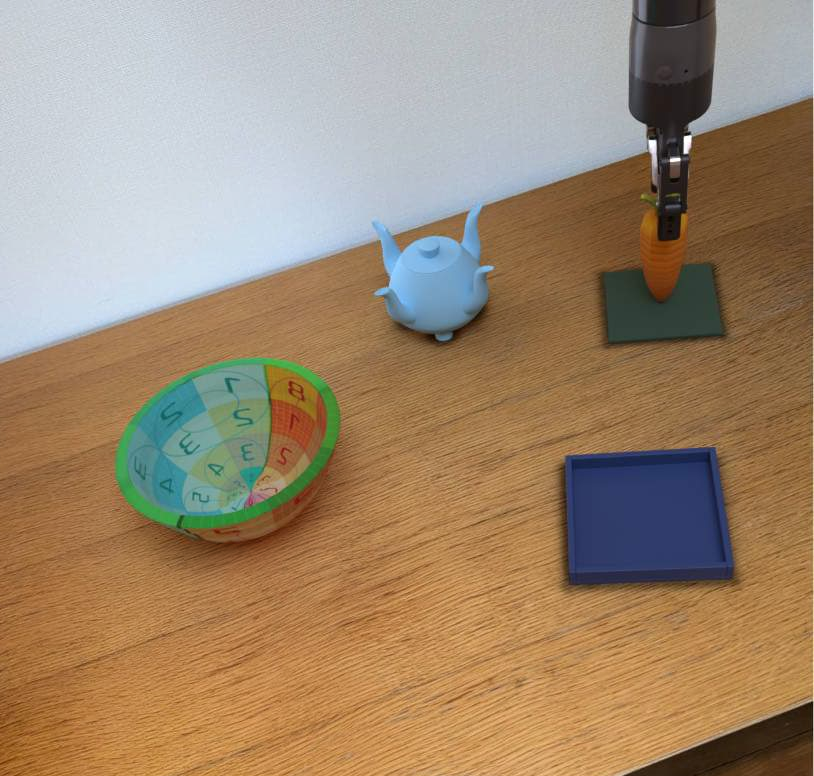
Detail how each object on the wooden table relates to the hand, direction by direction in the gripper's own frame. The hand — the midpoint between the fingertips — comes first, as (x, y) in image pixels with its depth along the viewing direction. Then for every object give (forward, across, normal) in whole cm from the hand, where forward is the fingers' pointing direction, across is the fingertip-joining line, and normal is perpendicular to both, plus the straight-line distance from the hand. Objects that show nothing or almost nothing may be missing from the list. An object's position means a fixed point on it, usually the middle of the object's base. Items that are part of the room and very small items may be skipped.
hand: (664, 214), depth 102 cm
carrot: (+11, 0, 0) cm, 11 cm away
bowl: (+12, -26, +43) cm, 52 cm away
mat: (+12, 0, 0) cm, 12 cm away
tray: (+12, -31, +4) cm, 33 cm away
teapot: (+12, +1, +25) cm, 28 cm away
